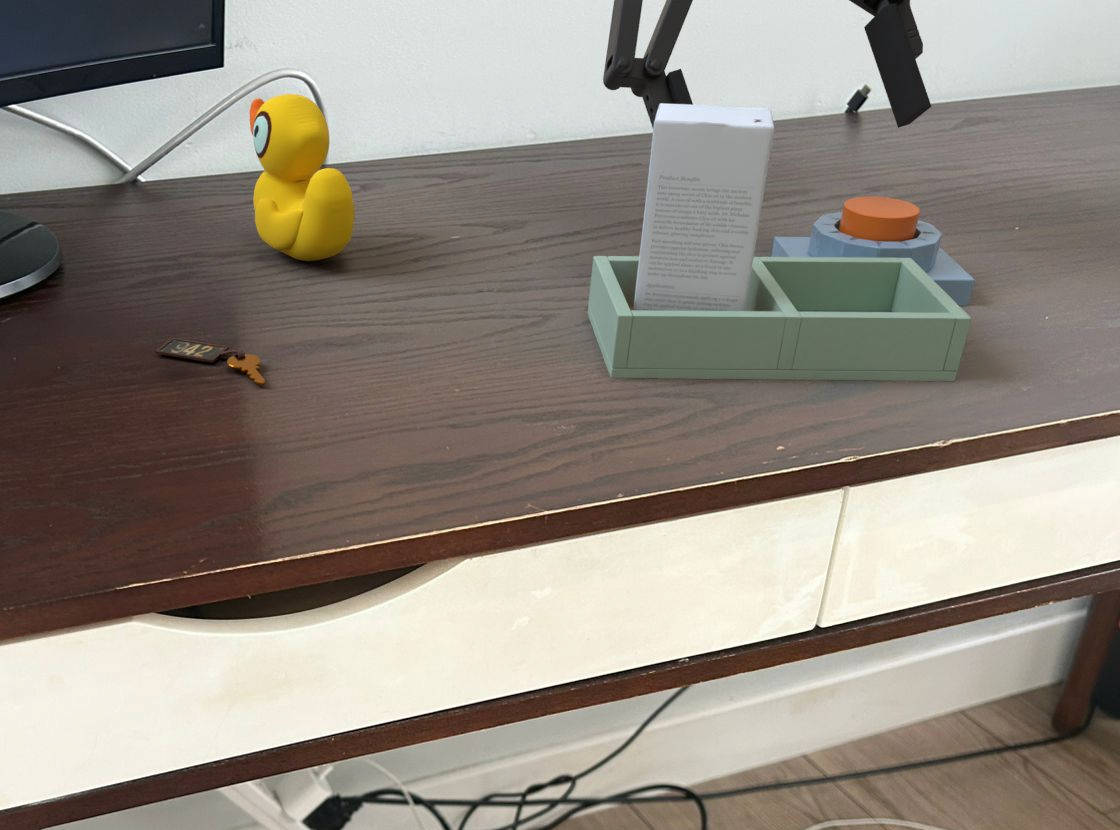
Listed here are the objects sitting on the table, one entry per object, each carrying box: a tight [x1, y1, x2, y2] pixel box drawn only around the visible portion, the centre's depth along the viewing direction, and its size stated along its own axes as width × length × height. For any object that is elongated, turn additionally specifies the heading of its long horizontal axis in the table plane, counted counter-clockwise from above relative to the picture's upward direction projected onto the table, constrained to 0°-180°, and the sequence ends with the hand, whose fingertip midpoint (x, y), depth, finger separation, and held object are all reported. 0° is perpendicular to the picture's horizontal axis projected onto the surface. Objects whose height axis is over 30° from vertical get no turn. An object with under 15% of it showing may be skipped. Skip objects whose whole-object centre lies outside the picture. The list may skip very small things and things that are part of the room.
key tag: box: [155, 337, 266, 386], centre depth 76 cm, size 8×3×1 cm, turn 53°
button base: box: [770, 210, 976, 307], centre depth 85 cm, size 10×8×4 cm
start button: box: [839, 196, 921, 242], centre depth 84 cm, size 4×4×2 cm
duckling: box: [249, 93, 356, 262], centre depth 89 cm, size 11×5×10 cm, turn 29°
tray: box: [587, 255, 972, 382], centre depth 77 cm, size 18×10×4 cm, turn 88°
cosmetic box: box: [633, 103, 775, 311], centre depth 74 cm, size 6×4×12 cm
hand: (809, 151), depth 81 cm, fingers open, 13 cm apart
